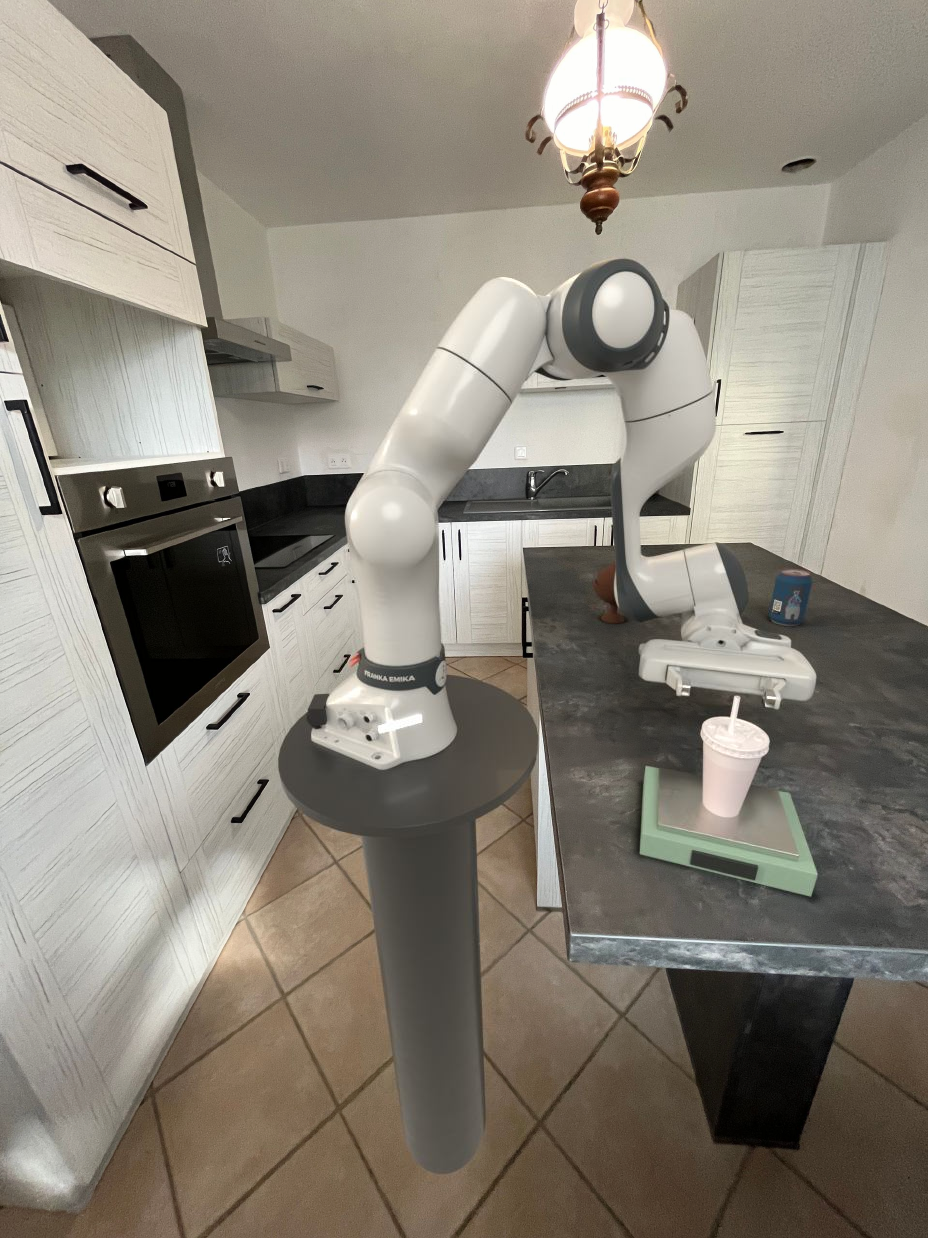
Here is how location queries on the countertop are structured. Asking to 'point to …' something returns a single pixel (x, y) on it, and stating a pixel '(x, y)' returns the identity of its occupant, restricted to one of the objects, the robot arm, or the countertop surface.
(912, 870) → the countertop surface
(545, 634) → the countertop surface
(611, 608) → the ice cream bowl
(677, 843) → the kitchen scale
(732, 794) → the smoothie
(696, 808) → the scale pan
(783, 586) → the soda can
